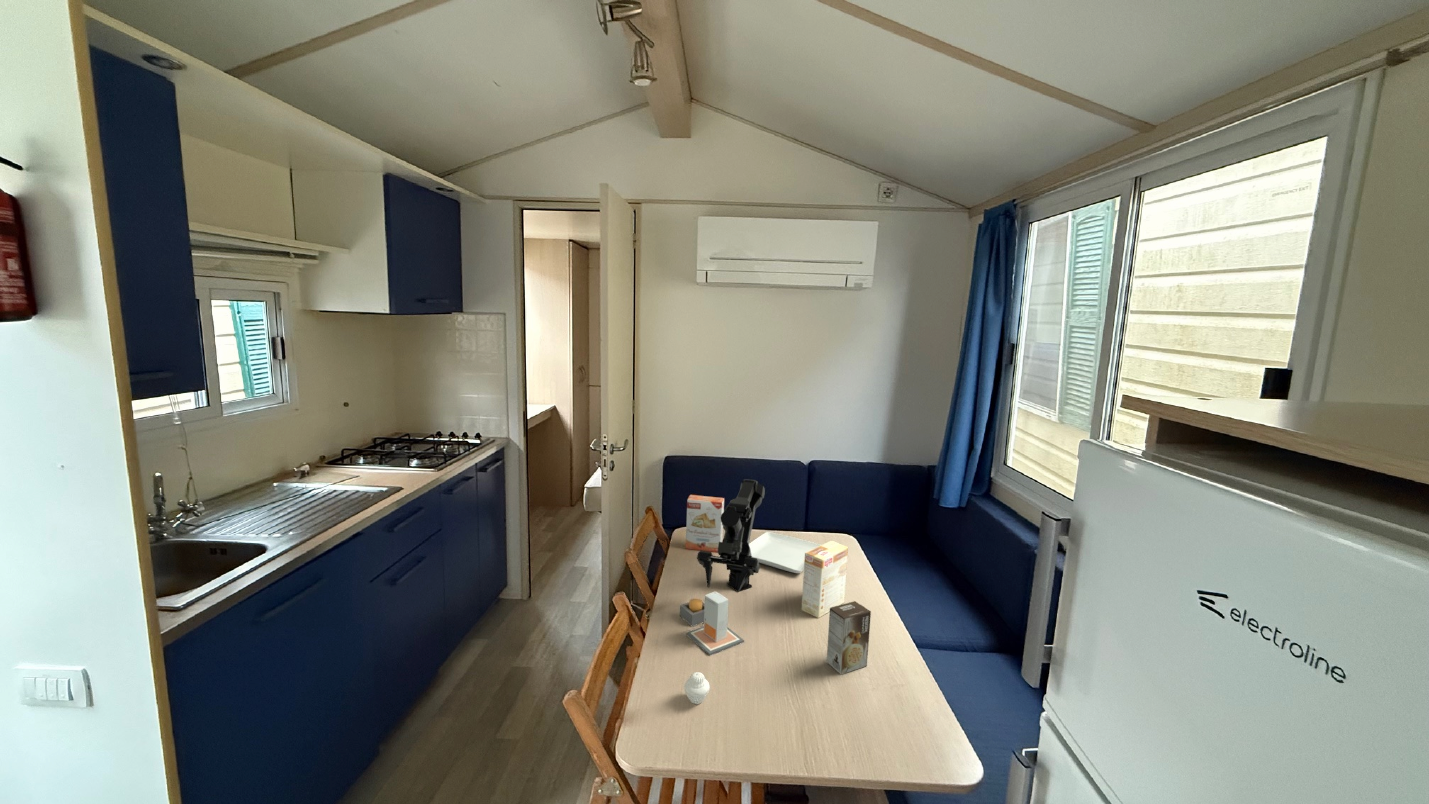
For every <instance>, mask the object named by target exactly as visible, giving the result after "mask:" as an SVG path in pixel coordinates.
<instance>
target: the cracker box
mask: <svg viewBox="0 0 1429 804" xmlns="http://www.w3.org/2000/svg"><path fill="white" fill-rule="evenodd" d="M724 510H725V497H715V496H706V495H705V496H704V495H697V494H690V495H689V496H688V498H687V502H686V529H685V549H686V550H695V551H700V550H702V551H709V552H711V553H718V544H719V542H722V541H723V538H724V534H723V533H724V528H723V525H722V522H721V515H722V513H723V512H724Z"/></svg>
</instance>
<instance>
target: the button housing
mask: <svg viewBox="0 0 1429 804" xmlns="http://www.w3.org/2000/svg"><path fill="white" fill-rule="evenodd" d="M704 605H705V602H704V601H702V610H701V611H698V612H695V613H693V612H692V611H690V610H689V601H688V602H685V603H682V604H679V617H681V618H682V619H683V620H684V621H685V622H686V621H687V623H688V625H690V626H691V627H694V626H697V625H699V624H703V623H704ZM702 622H703V623H702ZM696 624H697V625H696Z"/></svg>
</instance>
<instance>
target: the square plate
mask: <svg viewBox="0 0 1429 804" xmlns="http://www.w3.org/2000/svg"><path fill="white" fill-rule="evenodd" d="M821 545H822V544H821V543H816V542H813V541H809V540H805V539H802V538H798V537H794V536H790V535H786V534H781V533H777V532H772V531H765V532H764V533H762V534H761V535H760V536H758V537H756V538H755V539H753V540H752V541H751V542H750V541H749V547H750V550H751V556H752V557H753V558H757V560H758V562H759V564H763V565H765V566H769V567H772V568H776V569H780V570H782V571H787V572H790V573H794V574H801V573H802V572H804V560H805V553H806V552H808V551H810V550H812V549H814V548H817V547H819V546H821Z"/></svg>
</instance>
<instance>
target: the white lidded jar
mask: <svg viewBox="0 0 1429 804" xmlns="http://www.w3.org/2000/svg"><path fill="white" fill-rule="evenodd" d="M683 687H684V691H685V694H686V696H687V698H688V700H689V702H690V703H692V704H694V705H699V704H702V703H703V702H704V700H705V699H706V697H707V696H708V694H709V692H710V682H709V681H708V680H707V679H706V677H705V675H704V674H703V673H702V672H699V671H697V672H693V673H691V675H690V676H689V678H688V679H687V680H686V681H685V683H684V685H683Z"/></svg>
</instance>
